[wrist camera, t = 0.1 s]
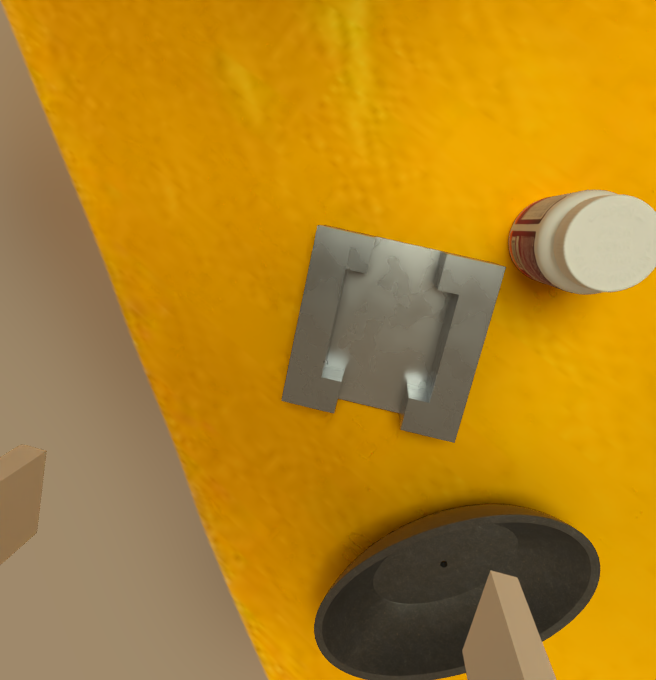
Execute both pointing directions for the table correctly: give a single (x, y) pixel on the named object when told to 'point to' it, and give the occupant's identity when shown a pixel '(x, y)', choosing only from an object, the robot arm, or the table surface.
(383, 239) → the bracket
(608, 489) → the table surface
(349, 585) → the bowl
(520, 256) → the pill bottle
